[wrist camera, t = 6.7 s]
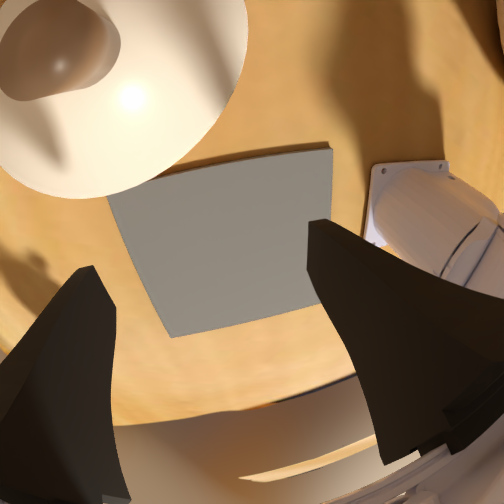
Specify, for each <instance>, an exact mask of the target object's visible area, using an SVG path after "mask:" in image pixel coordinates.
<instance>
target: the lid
mask: <svg viewBox="0 0 504 504" xmlns="http://www.w3.org/2000/svg"><path fill="white" fill-rule="evenodd" d="M247 40H248V20H247V11H246V7H245V2H244V0H6V1H5V2H4V4H3V5H2V7H1V8H0V166H1V167H2V168H3V169H4V170H5V171H6V172H7V173H8V174H10V175H11V176H12V177H13V178H14V179H16V180H17V181H19V182H20V183H22V184H24V185H25V186H27V187H29V188H31V189H34V190H36V191H38V192H41V193H44V194H48V195H51V196H55V197H62V198H74V199H86V198H94V197H103V196H107V195H111V194H115V193H119V192H122V191H124V190H127V189H130V188H132V187H135V186H138V185H140V184H141V183H143V182H145V181H147V180H149V179H152V178H154V177H155V176H157V175H158V174H160V173H161V172H163V171H164V170H166V169H168V168H169V167H171V166H172V165H173V164H174V163H176V162H177V161H178V160H179V159H181V158H182V157H183V156H184V155H186V154H187V153H188V152H189V151H190V150H191V149H192V148H193V147H194V146H195V145H196V144H197V143H198V142H199V141H200V140H201V139H202V138H203V136H204V135H205V134H206V133H207V132H208V130H209V129H210V128H211V127H212V126H213V125H214V123H215V122H216V120H217V119H218V117H219V116H220V114H221V113H222V111H223V110H224V108H225V107H226V105H227V103H228V101H229V99H230V97H231V95H232V93H233V91H234V89H235V87H236V84H237V82H238V79H239V76H240V74H241V71H242V68H243V63H244V59H245V55H246V51H247Z"/></svg>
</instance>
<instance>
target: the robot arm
mask: <svg viewBox="0 0 504 504" xmlns="http://www.w3.org/2000/svg"><path fill="white" fill-rule="evenodd" d="M449 166H450V164H449V162H448V161H447V160H426V161H408V162H394V163H381V164H375V165H374V166H373V167H372V170H371V181H370V191H369V199H368V208H367V215H366V223H365V229H364V236H363V238H361V237H359V236H358V235H356V234H354V233H352V232H351V231H349V230H347V229H345V228H344V227H342V226H340V225H338V224H336V223H334V222H332V221H330V220H328V219H326V218H325V219H319V220H314V221H308V247H307V268H306V270H307V272H308V275H309V277H310V280H311V282H312V285H313V287H314V290H315V292H316V294H317V296H318V298H319V300H320V302H321V303H322V305H323V307H324V309H325V311H326V312H327V314H328V316H329V318H330V320H331V321H332V323H333V325H334V327H335V328H336V330H337V332H338V334H339V336H340V338H341V339H342V341H343V343H344V345H345V347H346V349H347V351H348V353H349V355H350V358H351V360H352V363H353V365H354V368H355V370H356V373H357V376H358V378H359V381H360V384H361V387H362V389H363V393H364V395H365V398H366V401H367V405H368V408H369V412H370V415H371V419H372V422H373V425H374V430H375V434H376V439H377V443H378V448H379V453H380V457H381V459H382V462H383V464H384V465H387V464H390V463H392V462H394V461H396V460H399V459H401V458H403V457H405V456H407V455H409V454H411V453H413V452H414V451H416V450H418V451H419V453H420V456H421V457H420V458H419V459H417V460H415V461H414V462H412V463H410V464H408V465H407V466H405V467H403V468H401V469H400V470H398V471H396V472H394V473H392V474H390V475H388V476H386V477H384V478H382V479H380V480H378V481H376V482H374V483H372V484H369V485H367V486H365V487H363V488H360V489H358V490H355V491H353V492H351V493H348V494H346V495H343V496H341V497H338V498H335V499H332V500H329V501H326V502H323V503H320V504H504V213H500V212H499V210H498V208H497V207H496V205H495V204H494V203H493V202H492V201H491V200H490V199H489V198H488V197H486V196H485V195H483V194H482V193H481V192H479V191H478V190H476V189H475V188H473V187H472V186H470V185H469V184H467V183H466V182H464V181H463V180H461V179H460V178H458V177H456V176H455V175H453V174H452V173H450V172H449ZM383 168H384V170H383V171H382V169H383ZM385 245H389V246H390V247H391V248H392V249H393V250H394V251H395V252H396V254H397V255H398V256H399V257H400V258H401V259H402V260H401V259H399V258H397V257H396V256H394V255H392V254H390V253H388V252H386V251H384V250H382V249H381V248H379V247H382V246H385ZM115 340H116V306H115V304H114V303H113V301H112V299H111V297H110V296H109V294H108V292H107V290H106V289H105V287H104V285H103V283H102V281H101V279H100V277H99V276H98V274H97V272H96V270H95V268H94V266H93V265H91V266H87V267H83V268H79V269H78V270H76V271H75V272H74V273H73V274H72V275H71V277H70V278H69V279H68V280H67V281H66V282H65V283H64V285H63V286H62V287H61V288H60V290H59V291H58V292H57V293H56V295H55V296H54V297H53V298H52V300H51V301H50V302H49V304H48V305H47V306H46V307H45V309H44V310H43V311H42V313H41V314H40V315H39V317H38V318H37V319H36V320H35V322H34V323H33V324H32V326H31V327H30V328H29V330H28V331H27V332H26V334H25V335H24V336H23V337H22V339H21V340H20V341H19V342H18V344H17V345H16V346H15V347H14V349H13V350H12V351H11V352H10V353H9V355H8V356H7V357H6V358H5V359H4V360H3V362H2V363H1V364H0V504H103V503H107V504H129V503H130V501H131V497H130V495H129V492H128V489H127V486H126V483H125V480H124V477H123V474H122V471H121V467H120V463H119V458H118V454H117V449H116V444H115V438H114V431H113V424H112V413H111V380H112V368H113V358H114V349H115ZM405 491H406V493H405V495H401V496H398V495H400V494H402V493H404V492H405ZM396 496H398V497H396Z"/></svg>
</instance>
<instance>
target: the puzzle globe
mask: <svg viewBox="0 0 504 504" xmlns="http://www.w3.org/2000/svg"><path fill="white" fill-rule="evenodd" d="M496 4H497V17H498V19H497V20H498V25H499V30H500V39H501V45H502V49H503V54H504V0H496Z"/></svg>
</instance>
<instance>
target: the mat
mask: <svg viewBox="0 0 504 504" xmlns="http://www.w3.org/2000/svg"><path fill="white" fill-rule="evenodd" d="M332 174H333V149H332V148H330V147H329V148H319V149H309V150H300V151H292V152H284V153H277V154H270V155H263V156H257V157H251V158H245V159H239V160H233V161H228V162H222V163H217V164H212V165H207V166H202V167H198V168H193V169H188V170H184V171H180V172H175V173H171V174H167V175H163V176H159V177H155V178H152V179H149V180H147V181H145V182H143V183H141V184H140V185H138V186H135V187H132V188H130V189H127V190H124V191H122V192H119V193H115V194H111V195H107V199H108V202H109V205H110V207H111V210H112V213H113V215H114V218H115V221H116V223H117V226H118V228H119V231H120V233H121V236H122V238H123V240H124V243H125V245H126V248H127V250H128V252H129V255H130V257H131V259H132V261H133V264H134V266H135V268H136V270H137V273H138V275H139V277H140V279H141V281H142V283H143V285H144V287H145V290H146V292H147V294H148V296H149V298H150V300H151V302H152V304H153V306H154V308H155V310H156V312H157V313H158V315H159V317H160V319H161V321H162V323H163V325H164V327H165V329H166V330H167V332H168V334H169V336H170V338H174V337H180V336H185V335H190V334H195V333H200V332H205V331H210V330H215V329H219V328H224V327H229V326H233V325H238V324H242V323H246V322H250V321H255V320H259V319H263V318H267V317H271V316H275V315H279V314H283V313H287V312H290V311H294V310H298V309H302V308H305V307H309V306H312V305H316V304H319V303H321V302H320V300H319V298H318V296H317V294H316V292H315V290H314V287H313V285H312V282H311V280H310V277H309V275H308V272H307V270H306V268H307V247H308V221H314V220H319V219H325V218H326V219H328V220H330V219H331V201H332Z"/></svg>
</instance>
